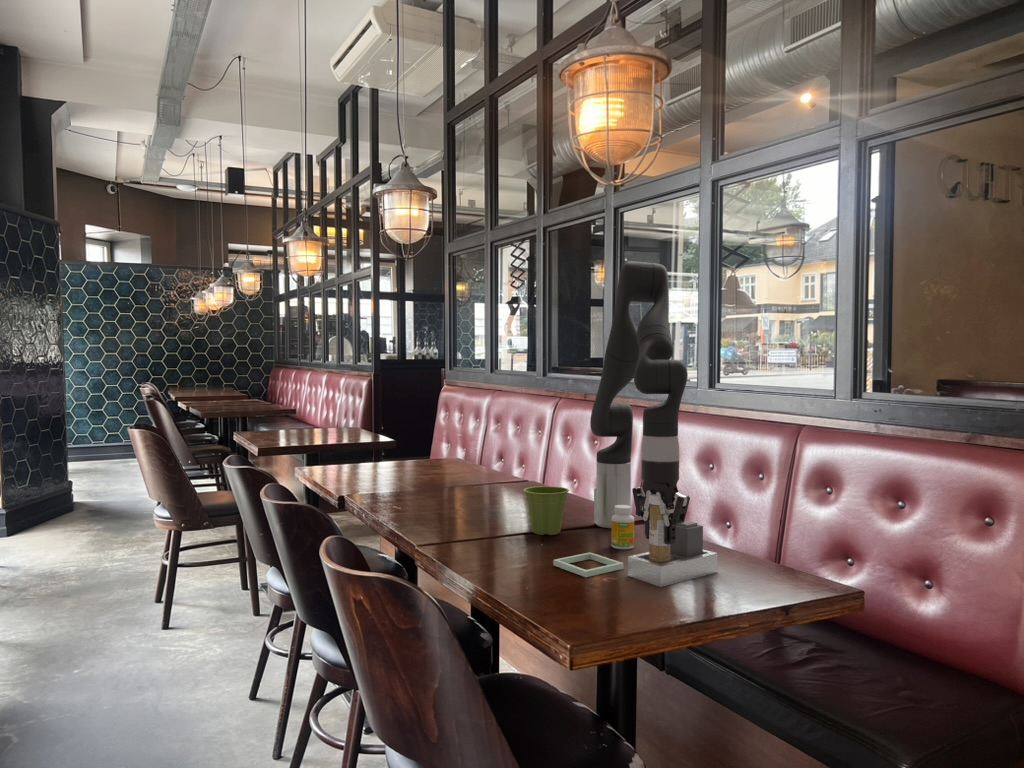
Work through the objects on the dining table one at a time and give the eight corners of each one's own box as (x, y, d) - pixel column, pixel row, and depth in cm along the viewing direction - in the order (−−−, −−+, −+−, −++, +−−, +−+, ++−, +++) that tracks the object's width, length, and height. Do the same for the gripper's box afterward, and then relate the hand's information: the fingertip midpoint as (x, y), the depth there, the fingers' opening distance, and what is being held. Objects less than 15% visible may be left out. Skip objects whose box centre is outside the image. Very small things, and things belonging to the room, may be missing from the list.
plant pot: (575, 530, 184) (575, 487, 184) (559, 540, 173) (559, 494, 173) (534, 525, 189) (534, 484, 189) (515, 535, 178) (515, 491, 178)
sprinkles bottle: (645, 557, 144) (645, 492, 144) (667, 556, 145) (667, 491, 144) (652, 563, 140) (652, 496, 139) (674, 562, 140) (674, 495, 140)
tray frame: (553, 565, 151) (553, 559, 151) (590, 557, 157) (590, 552, 157) (585, 577, 142) (585, 571, 142) (623, 568, 148) (623, 563, 148)
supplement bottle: (616, 550, 163) (617, 509, 163) (607, 544, 168) (607, 504, 168) (638, 548, 165) (638, 507, 164) (628, 543, 170) (628, 503, 170)
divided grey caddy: (628, 575, 143) (628, 556, 143) (683, 562, 153) (684, 544, 153) (660, 587, 136) (660, 566, 136) (717, 572, 146) (717, 553, 146)
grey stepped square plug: (669, 567, 147) (669, 521, 147) (684, 563, 150) (685, 519, 150) (687, 572, 143) (687, 526, 143) (702, 568, 146) (703, 523, 146)
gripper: (700, 460, 138) (700, 545, 138) (647, 452, 150) (647, 532, 150) (674, 463, 134) (674, 551, 134) (622, 455, 145) (621, 537, 146)
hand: (659, 540), depth 142 cm, fingers closed on sprinkles bottle, 4 cm apart
